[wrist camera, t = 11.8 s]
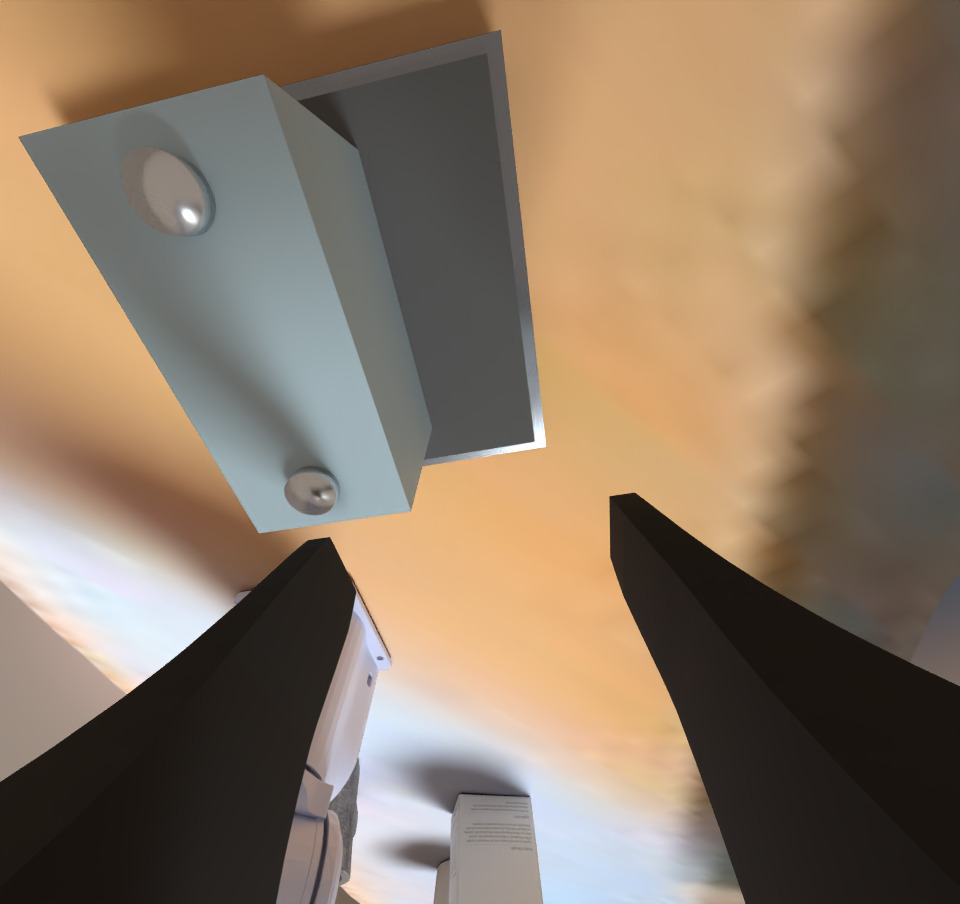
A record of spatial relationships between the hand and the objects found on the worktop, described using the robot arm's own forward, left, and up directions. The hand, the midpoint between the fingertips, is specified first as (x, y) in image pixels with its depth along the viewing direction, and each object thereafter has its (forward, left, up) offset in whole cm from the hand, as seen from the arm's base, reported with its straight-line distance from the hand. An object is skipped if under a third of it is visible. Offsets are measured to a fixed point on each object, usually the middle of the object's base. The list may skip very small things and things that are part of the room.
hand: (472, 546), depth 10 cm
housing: (+5, +5, -8) cm, 10 cm away
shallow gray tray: (+5, +5, -10) cm, 12 cm away
